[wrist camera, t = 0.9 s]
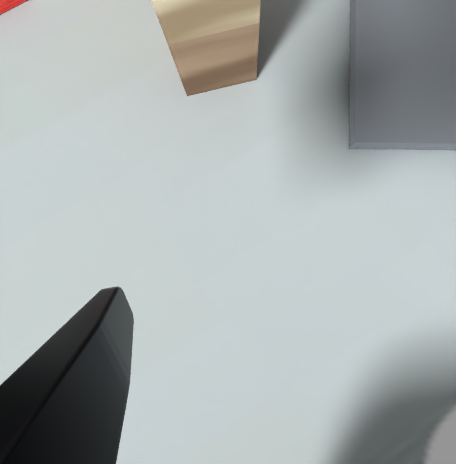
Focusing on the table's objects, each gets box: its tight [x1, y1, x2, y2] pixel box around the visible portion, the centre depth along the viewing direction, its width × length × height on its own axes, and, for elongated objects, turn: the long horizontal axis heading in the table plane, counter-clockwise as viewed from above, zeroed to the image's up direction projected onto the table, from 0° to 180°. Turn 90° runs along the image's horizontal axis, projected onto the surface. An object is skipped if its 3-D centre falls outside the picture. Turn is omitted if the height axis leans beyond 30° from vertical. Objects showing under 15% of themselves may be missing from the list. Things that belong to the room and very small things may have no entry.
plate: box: [349, 0, 456, 150], centre depth 21 cm, size 12×12×1 cm
